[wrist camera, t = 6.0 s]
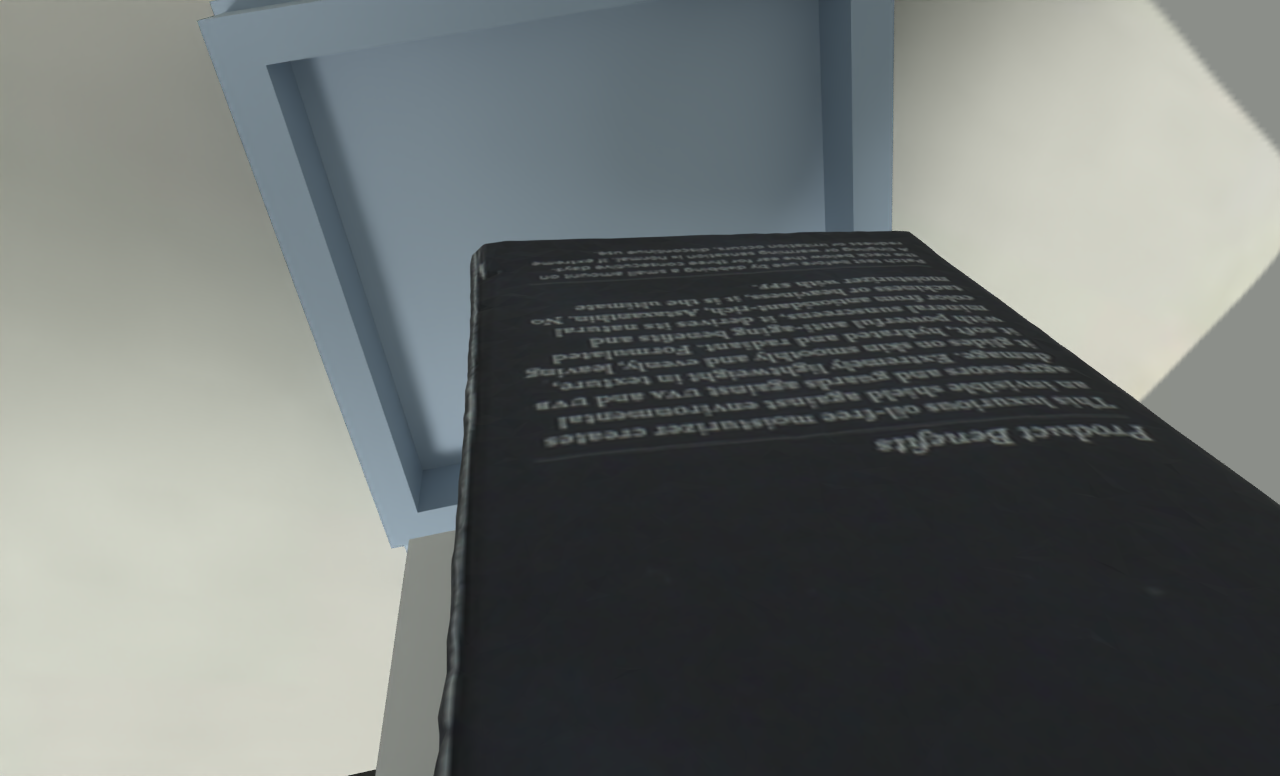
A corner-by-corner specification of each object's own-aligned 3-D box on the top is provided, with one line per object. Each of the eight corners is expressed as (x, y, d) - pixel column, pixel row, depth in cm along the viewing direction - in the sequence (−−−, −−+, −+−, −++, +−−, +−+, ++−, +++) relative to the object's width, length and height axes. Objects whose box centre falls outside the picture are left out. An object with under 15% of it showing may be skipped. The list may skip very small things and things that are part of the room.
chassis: (454, 665, 36) (451, 733, 33) (220, -1, 23) (179, 9, 20) (860, 575, 37) (894, 632, 34) (853, -103, 24) (906, -109, 21)
